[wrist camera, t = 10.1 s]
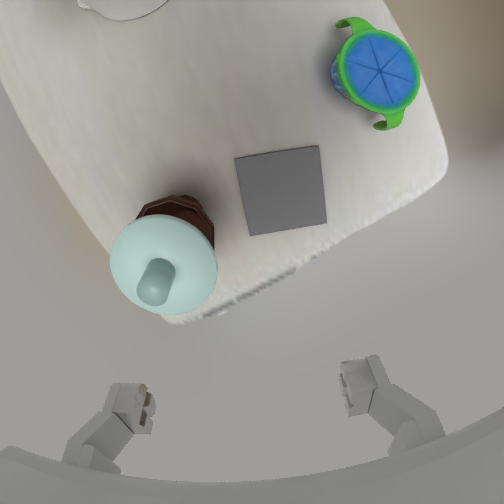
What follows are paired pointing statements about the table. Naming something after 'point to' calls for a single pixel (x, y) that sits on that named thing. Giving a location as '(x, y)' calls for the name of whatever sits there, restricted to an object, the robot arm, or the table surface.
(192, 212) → the ice cream bowl
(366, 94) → the snack cup
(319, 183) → the mat
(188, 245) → the lid
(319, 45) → the table surface
